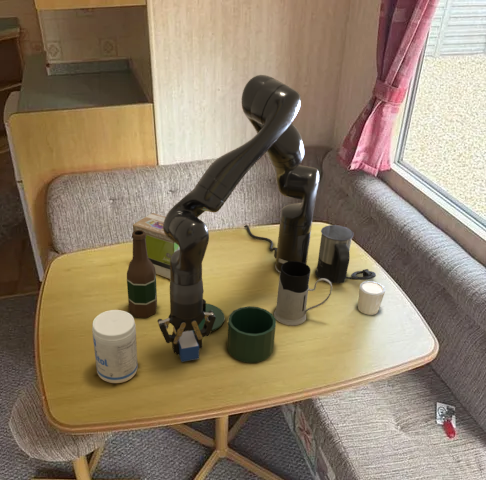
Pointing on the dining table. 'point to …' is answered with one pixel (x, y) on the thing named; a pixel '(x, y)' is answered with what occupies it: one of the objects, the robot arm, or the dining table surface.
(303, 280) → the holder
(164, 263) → the tea box
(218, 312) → the lid
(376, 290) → the white ribbed cup
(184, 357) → the cream cheese
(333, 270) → the milk frother
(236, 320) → the pot
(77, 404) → the dining table surface
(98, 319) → the supplement tub
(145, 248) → the beer bottle
